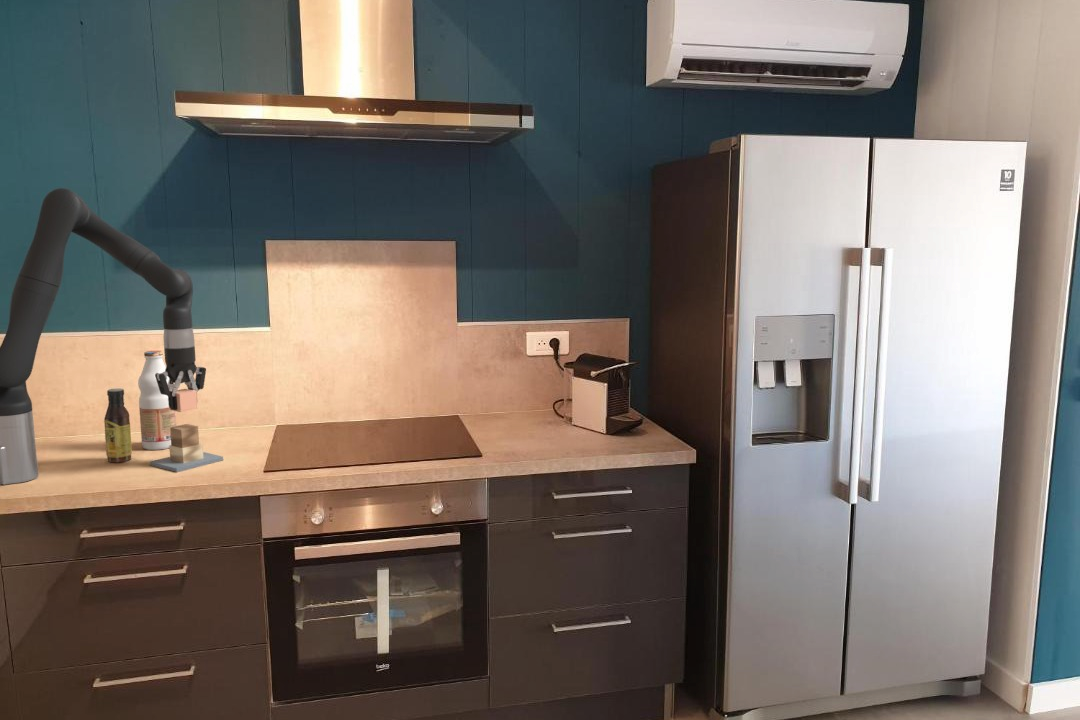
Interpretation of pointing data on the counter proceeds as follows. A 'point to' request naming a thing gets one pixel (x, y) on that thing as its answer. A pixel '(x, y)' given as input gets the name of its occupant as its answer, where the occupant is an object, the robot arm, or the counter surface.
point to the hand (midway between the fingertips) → (183, 407)
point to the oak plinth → (186, 453)
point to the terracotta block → (186, 400)
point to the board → (179, 466)
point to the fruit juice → (154, 405)
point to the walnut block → (184, 435)
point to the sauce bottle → (117, 428)
